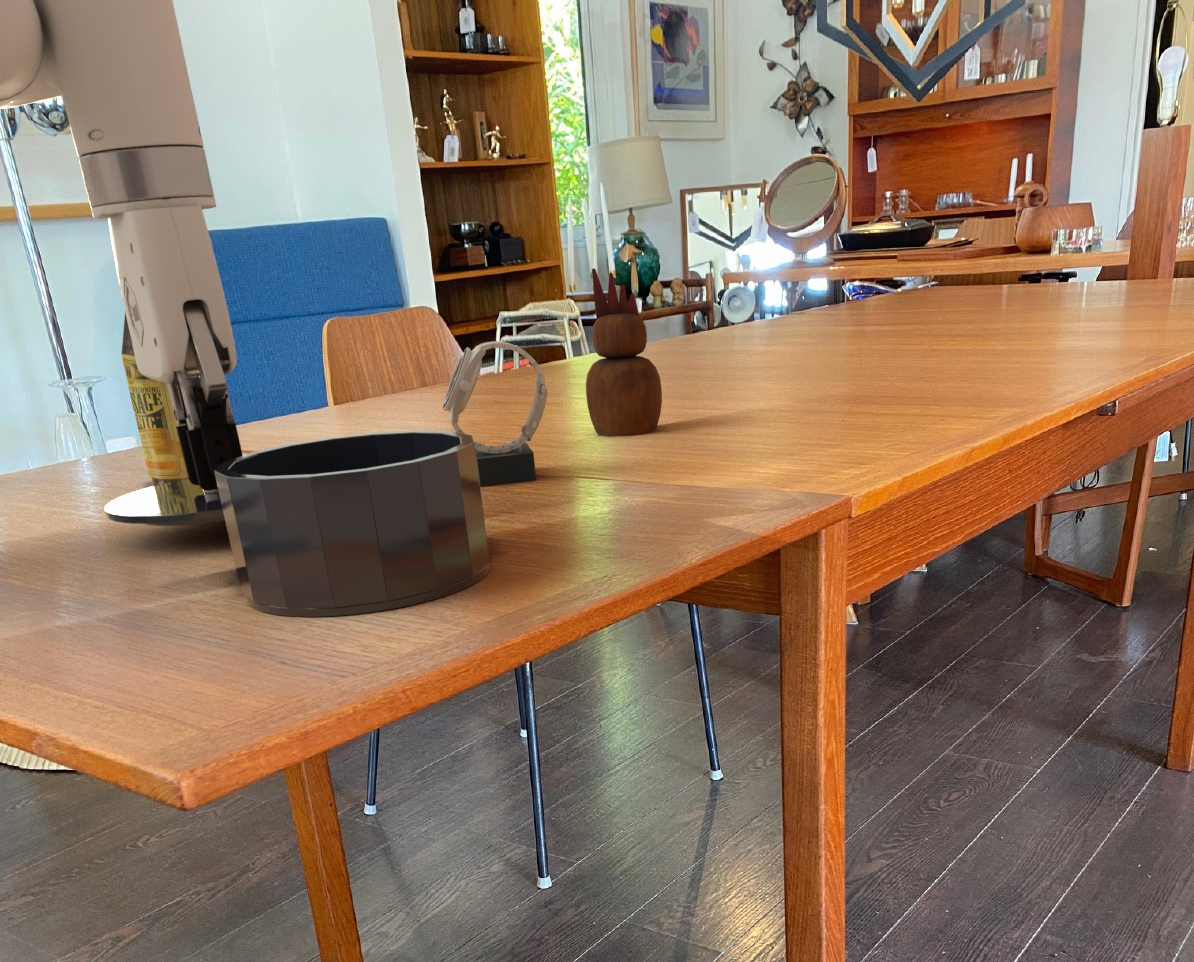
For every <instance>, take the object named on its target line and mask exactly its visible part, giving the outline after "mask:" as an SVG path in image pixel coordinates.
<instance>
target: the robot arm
mask: <svg viewBox="0 0 1194 962" xmlns="http://www.w3.org/2000/svg"><path fill="white" fill-rule="evenodd" d="M185 57H186V56H185V53H184V48H183V43H182V38H181V34H180V29H179V24H178V19H177V15H176V10H175V6H174V1H173V0H0V110H1V109H3V110H4V109H12V108H17V107H21V106H25V105H30V104H33V103H38V102H42V101H46V100H50V99H55V98H60V97H62V100H63V104H64V109H65V111H66V112H65V113H66V115H67V121H68V124H69V127H70V133H71V135H72V139H73V143H74V148H75V151H76V155H77V158H78V162H79V167H80V170H81V175H82V178H83V182H84V186H85V191H86V194H87V198H88V201H89V205H90V209H91V214H92V217H93V218H92V219H99V220H101V219H108V227H109V234H110V241H111V247H112V253H113V254H114V255H113V261H114V260H115V261H114V266H115V265H116V268H115V270H116V275H117V279H118V285H119V289H120V293H121V297H122V302H123V307H124V314H125V313H126V317H127V322H128V326H129V331H130V336H131V341H132V345H133V350H134V355H135V359H136V364H137V367H138V370H139V372H140V373H141V374H142V375H144V376H145V377H147V378H149V379H152V380H156V381H161V382H166V383H167V387H168V391H169V395H170V400H171V404H172V408H173V412H174V416H175V420H176V423H177V425H182V426H176V429H177V433H178V437H179V441H180V445H181V449H182V454H183V458H184V462H185V466H186V470H187V474H188V478H189V481H190V482H191V483H192V484H194V485H199V486H200V487H201V488H202V489H203V490H206V491H209V490H215V489H218V486H217V482H216V477H215V473H214V471H215V470H216V469H217V468H218V467H219V466H220V465H221V464H222V463H223V462H226V461H229V460H232V459H234V458H237V457H240V456H243V455H244V454H243V451H242V445H241V441H240V436H239V433H238V428H237V423H236V422H235V416H234V412H233V407H232V404H231V398H230V395H229V390H228V383H227V379H226V376H225V375H229V374H231V372H233V370H234V369H235V367H237V362H238V358H237V349H236V343H235V338H234V334H233V333H234V332H233V328H232V323H231V318H230V313H229V309H228V305H227V300H226V296H225V292H224V287H223V284H222V281H221V280H222V279H221V275H220V271H219V268H218V263H217V260H216V256H215V252H214V249H213V240H212V238H211V237H210V234H209V230H208V226H207V222H206V219H205V215H204V212H203V210H209V209H214V208H217V203H216V197H215V194H214V188H213V184H212V178H211V174H210V170H209V165H208V160H207V155H206V151H205V148H204V147H205V145H204V141H203V136H202V133H201V128H200V123H199V118H198V114H197V109H196V105H195V100H194V94H193V91H192V86H191V85H192V84H191V81H190V77H189V72H188V67H187V63H186V58H185ZM192 370H199V372H191V373H188V371H192ZM187 417H188V420H189V424H190V427H191V430H188V426H187V421H186V418H187ZM184 424H186V425H184Z"/></svg>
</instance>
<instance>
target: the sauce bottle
mask: <svg viewBox="0 0 1194 962" xmlns="http://www.w3.org/2000/svg"><path fill="white" fill-rule="evenodd" d="M112 256H114V254H113V255H112ZM113 261H114V262H115V260H114V259H113ZM114 268H115V269H116V265H115V264H114ZM120 355H121V359H122V364H123V365H122V366H123V368H124V372H125V377H126V381H127V385H128V390H129V396H130V400H131V405H132V409H133V412H134V417H135V420H136V427H137V430H138V434H139V439H140V443H141V448H142V453H143V456H144V460H145V465H146V468H147V469H146V470H147V474H148V476H149V477H150V478H151V483H152V487H153V486H157V485H161V484H166V483H170V482H175V481H180V480H184V479H189V478H188V474H187V470H186V466H185V462H184V458H183V454H182V449H181V445H180V441H179V437H178V433H177V429H176V426H182V425H177V423H176V420H175V416H174V412H173V408H172V404H171V400H170V395H169V391H168V387H167V383H166V382H161V381H156V380H152V379H149V378H147V377H145V376H144V375H142V374H141V373H140V372H139V370H138V367H137V364H136V359H135V355H134V350H133V345H132V341H131V336H130V331H129V326H128V322H127V317H126V313H125V312H124V321H123V332H122V344H121V354H120ZM191 372H199V370H192V371H188V373H191ZM184 425H186V424H184Z"/></svg>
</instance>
